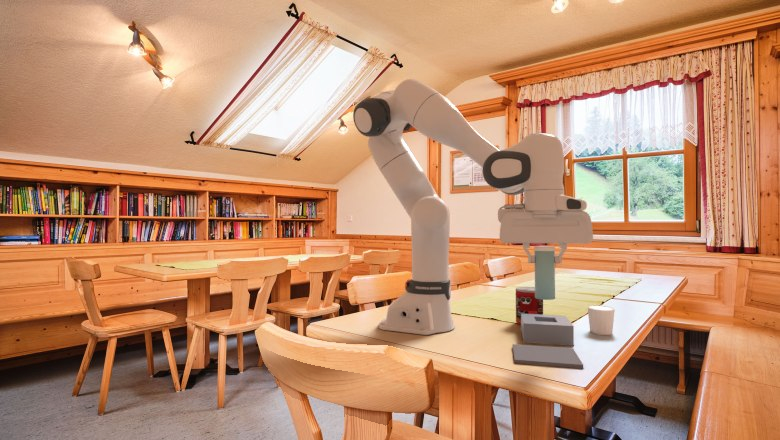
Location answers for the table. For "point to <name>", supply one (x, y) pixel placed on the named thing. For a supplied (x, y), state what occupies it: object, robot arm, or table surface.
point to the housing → (547, 329)
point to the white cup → (601, 319)
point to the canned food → (527, 302)
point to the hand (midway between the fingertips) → (544, 263)
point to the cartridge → (544, 272)
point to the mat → (546, 356)
